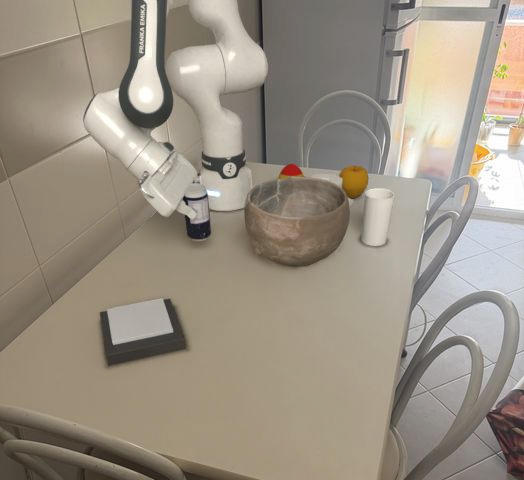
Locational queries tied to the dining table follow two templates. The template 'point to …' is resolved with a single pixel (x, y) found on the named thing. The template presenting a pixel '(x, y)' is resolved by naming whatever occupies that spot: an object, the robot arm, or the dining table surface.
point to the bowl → (296, 219)
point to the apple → (354, 180)
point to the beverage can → (199, 201)
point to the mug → (376, 216)
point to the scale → (140, 331)
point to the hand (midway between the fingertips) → (199, 209)
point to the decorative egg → (290, 171)
